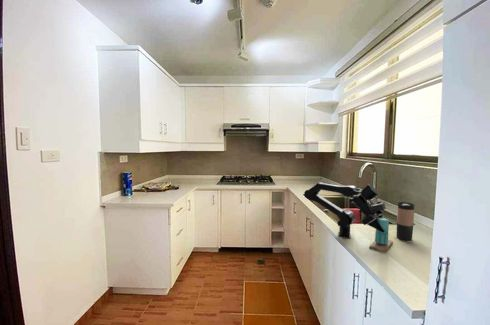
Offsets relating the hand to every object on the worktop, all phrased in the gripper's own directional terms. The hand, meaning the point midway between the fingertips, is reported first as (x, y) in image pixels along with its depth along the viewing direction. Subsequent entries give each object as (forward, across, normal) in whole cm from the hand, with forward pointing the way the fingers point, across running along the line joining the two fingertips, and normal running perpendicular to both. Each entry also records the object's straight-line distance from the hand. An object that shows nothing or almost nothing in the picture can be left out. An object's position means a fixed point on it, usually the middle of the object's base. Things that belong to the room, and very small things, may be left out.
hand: (385, 230), depth 119 cm
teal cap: (+4, 0, +6) cm, 7 cm away
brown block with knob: (+5, 0, +7) cm, 9 cm away
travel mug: (+10, +19, +2) cm, 22 cm away
